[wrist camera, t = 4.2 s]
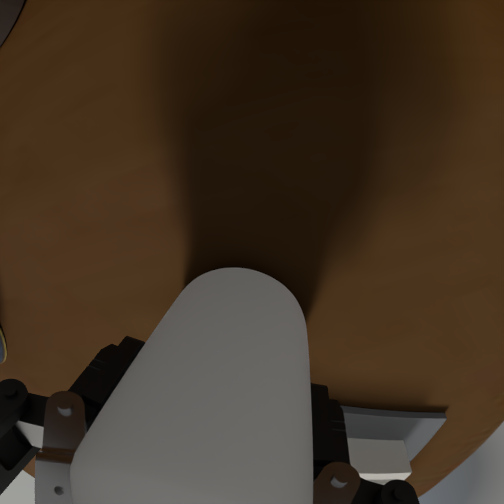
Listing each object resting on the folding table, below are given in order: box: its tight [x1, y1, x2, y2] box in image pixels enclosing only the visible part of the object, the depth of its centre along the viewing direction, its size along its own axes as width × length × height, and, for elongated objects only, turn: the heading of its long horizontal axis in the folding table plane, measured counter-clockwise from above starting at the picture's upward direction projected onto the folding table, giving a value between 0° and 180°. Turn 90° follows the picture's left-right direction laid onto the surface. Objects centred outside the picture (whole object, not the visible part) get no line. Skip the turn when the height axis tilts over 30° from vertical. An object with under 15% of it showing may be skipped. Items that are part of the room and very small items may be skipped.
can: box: [70, 268, 313, 504], centre depth 9 cm, size 6×6×12 cm
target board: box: [341, 406, 447, 485], centre depth 18 cm, size 15×15×4 cm
